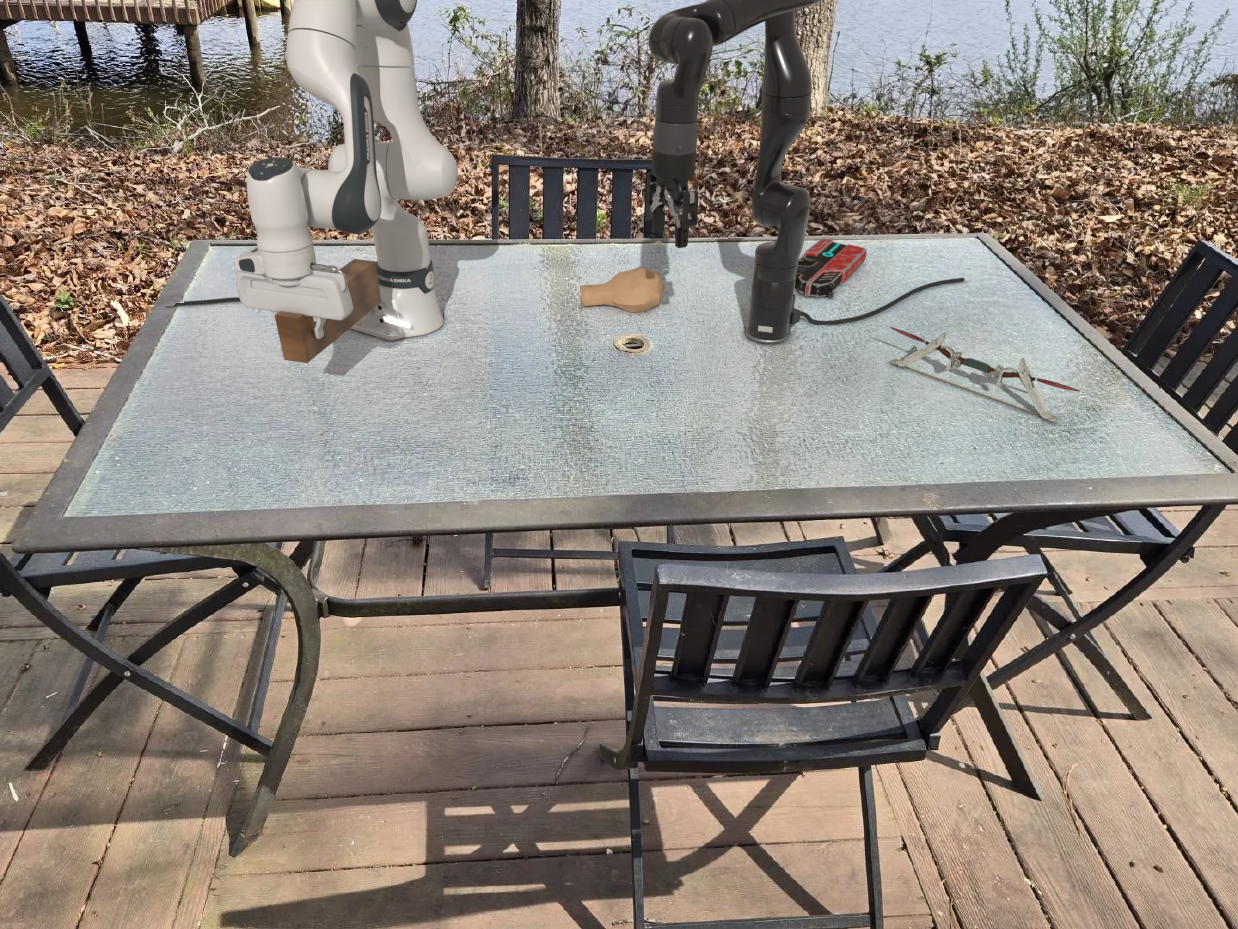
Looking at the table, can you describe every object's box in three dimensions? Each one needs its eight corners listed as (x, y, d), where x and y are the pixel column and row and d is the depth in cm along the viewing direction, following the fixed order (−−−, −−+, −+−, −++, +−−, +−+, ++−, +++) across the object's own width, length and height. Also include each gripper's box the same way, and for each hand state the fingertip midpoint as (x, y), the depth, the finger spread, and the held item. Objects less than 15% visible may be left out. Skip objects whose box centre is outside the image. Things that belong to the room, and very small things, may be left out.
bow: (1069, 424, 166) (1086, 377, 160) (1066, 427, 164) (1083, 380, 159) (885, 357, 187) (894, 314, 181) (880, 360, 186) (890, 317, 180)
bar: (307, 363, 155) (298, 318, 150) (284, 359, 155) (274, 315, 151) (381, 302, 177) (375, 261, 172) (360, 299, 178) (354, 258, 173)
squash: (667, 316, 202) (664, 283, 196) (581, 324, 204) (575, 291, 198) (665, 291, 210) (662, 258, 204) (583, 298, 212) (577, 266, 205)
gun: (756, 267, 217) (831, 286, 209) (802, 230, 239) (871, 246, 231) (754, 284, 219) (828, 303, 212) (800, 246, 241) (868, 263, 233)
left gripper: (353, 260, 149) (364, 335, 156) (246, 247, 153) (262, 320, 160) (334, 273, 144) (346, 350, 151) (224, 259, 148) (242, 334, 155)
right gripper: (715, 155, 145) (707, 249, 154) (673, 135, 156) (667, 224, 165) (676, 159, 143) (670, 255, 152) (635, 139, 153) (632, 230, 162)
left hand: (302, 334), depth 156 cm, fingers closed on bar, 4 cm apart
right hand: (669, 239), depth 158 cm, fingers open, 8 cm apart
